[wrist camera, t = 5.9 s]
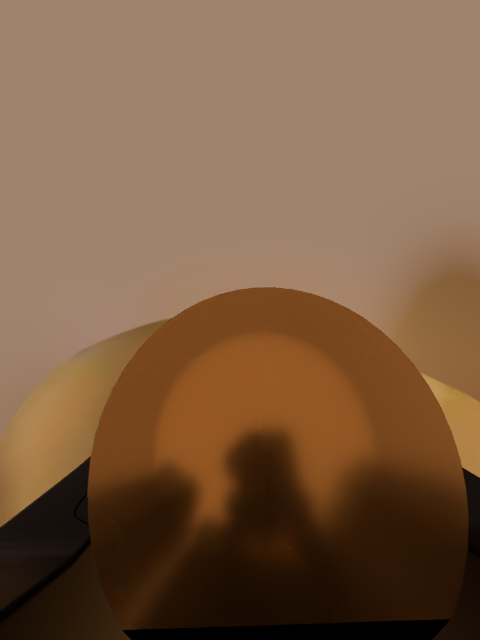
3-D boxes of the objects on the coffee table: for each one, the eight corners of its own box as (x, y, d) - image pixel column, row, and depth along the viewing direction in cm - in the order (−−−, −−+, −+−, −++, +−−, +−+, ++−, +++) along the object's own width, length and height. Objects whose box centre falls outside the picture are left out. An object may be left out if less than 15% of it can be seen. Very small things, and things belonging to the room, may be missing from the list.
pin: (258, 466, 14) (384, 932, 1) (204, 425, 14) (4, 510, 2) (290, 406, 15) (506, 393, 3) (239, 372, 16) (227, 243, 4)
